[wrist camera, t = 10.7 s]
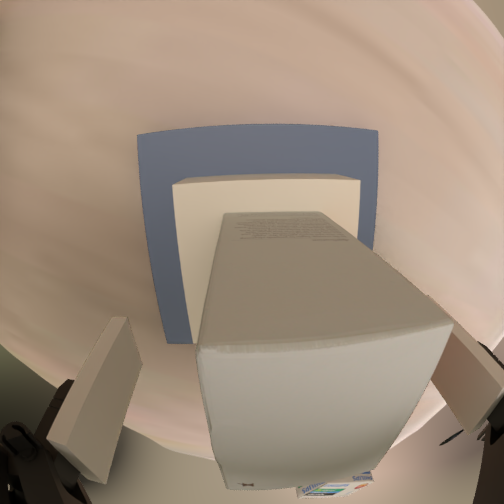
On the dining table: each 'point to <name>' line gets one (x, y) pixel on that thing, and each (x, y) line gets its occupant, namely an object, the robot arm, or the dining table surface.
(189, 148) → the build board
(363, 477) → the light bulb box
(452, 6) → the dining table surface
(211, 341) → the small box
